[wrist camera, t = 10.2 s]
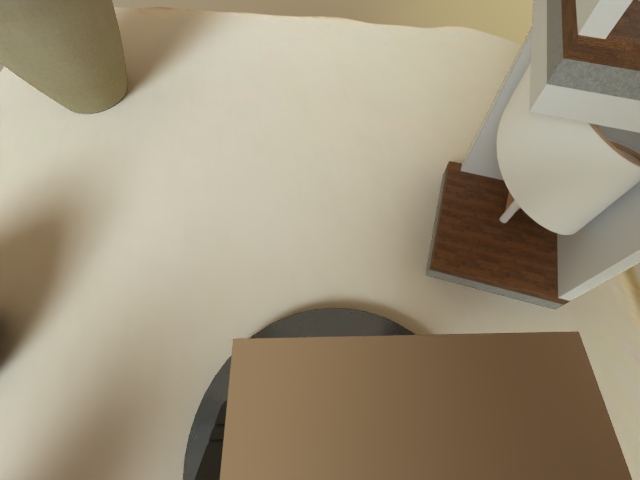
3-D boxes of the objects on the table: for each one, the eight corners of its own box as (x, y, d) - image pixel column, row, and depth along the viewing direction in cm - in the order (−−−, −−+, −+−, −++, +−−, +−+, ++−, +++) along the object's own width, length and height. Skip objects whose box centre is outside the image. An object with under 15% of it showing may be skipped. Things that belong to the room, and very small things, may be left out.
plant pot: (24, 73, 44) (-113, -95, 30) (145, 42, 47) (71, -125, 33) (32, 157, 38) (-139, -7, 24) (172, 115, 41) (94, -54, 27)
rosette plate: (162, 668, 20) (114, 737, 15) (209, 314, 30) (189, 292, 25) (524, 661, 20) (584, 727, 15) (453, 310, 30) (477, 287, 25)
